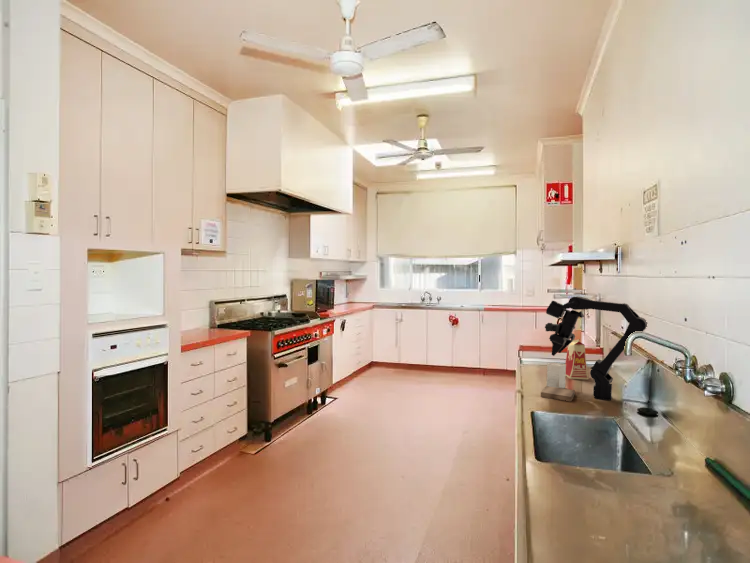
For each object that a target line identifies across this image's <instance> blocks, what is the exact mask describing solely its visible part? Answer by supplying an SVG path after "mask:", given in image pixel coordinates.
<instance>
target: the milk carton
mask: <svg viewBox="0 0 750 563" xmlns="http://www.w3.org/2000/svg"><path fill="white" fill-rule="evenodd" d="M565 364H566V377H567V378H568V379H569V380H570V379H571V380H573V379H574V380H589V375H588V374H589V373H588V365H587V356H586V345H585V344H584V343H582V342H580V338H578V339H574V340H573V341H572V342H571V343H570V344H569V345H568V346H567V350H566V357H565Z"/></svg>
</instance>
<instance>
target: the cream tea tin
mask: <svg viewBox="0 0 750 563" xmlns="http://www.w3.org/2000/svg"><path fill="white" fill-rule="evenodd" d="M566 377H567V376H566V364H564V363H560V362H555V361H554V362H549V363H547V365H546V386H549V387H556V388H563V389H566Z"/></svg>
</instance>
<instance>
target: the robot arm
mask: <svg viewBox="0 0 750 563" xmlns="http://www.w3.org/2000/svg"><path fill="white" fill-rule="evenodd" d="M569 309H571V310H569ZM578 310H579V311H578ZM580 310H581V311H580ZM582 310H598V311H604V312H605V311H606V312H612V313H614V312H615V313H620V314H621V315H622V316H623V318H624V319H625V321H626V322H627V323H628V325H627V327H626V330H625V332H624V333H623V336H621V338H620V339H619V340H618V341H617V343H616V344H615V345H614V346H613V348H612V349H610V351H609V352H608V353H607V355H605V357H604V358H603V359H602V360H601V359H600V358H599V359H597V360H595V362H594V364H593V366H591V367H590V369H591V370H590V371H589V374H590V377H591V379H592V380H594V385H593V392H592V395H593V399H597V400H598V399H599V400H605V401H612V399H613V396H612V394H613V392H612V390H613V383H612V382H613V380H614V377H612V375H611V374H610V370H611V368H612V366H613V364H614V363H615V361H616V360H617V359H618V358H619V357H620V356H621V355H622V353H623V352H624V351H625V350H624V346H625V341H626V339H627V338H628V336H629V335H630V334H631V333H633V332H635V331H642V332H644V331H645V330H646V329H647V328H648V326H647V324H648V321H647V319H646V318H644V317H640V315H639V314H638V313H637V312H635V310H633V309H632V307H630V305H629V304H628V303H625V302H623V303H619V302H610V301H601V300H592V299H589V298H587V297H583V296H579V295H578V296H571V298H569V300H568V302H566V303H564V304H562V303H559V302H558V301H555V300H551V302H550V303H549V305H548V306H547V307H546V311H545V314H546V315H549V316H551V317H553V318H556V319H560V318H562V319H561V322H559V323H552V322H548V323H546V324H545V326H544V329H545V332H553V334H550V336H549V338H548V339H549V341H550V342H551V344H552V346H551V347H552V348H551V355H552V356H553V357H555V356H556V354H557V353H559V354H561V353H562V352H563V351H564V350H565V349H566V348H568V346H569V344H570V343H572V342H573V340H575V339H576V335H575V333H573V332H574V330H575V329H576V323H577V321H578V319H579V318H581V319H582V318H584V317H585V315H584V312H583V311H582ZM646 321H647V322H646ZM646 327H647V328H646Z"/></svg>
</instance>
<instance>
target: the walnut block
mask: <svg viewBox="0 0 750 563" xmlns="http://www.w3.org/2000/svg"><path fill="white" fill-rule="evenodd" d="M575 392H576V390H575V389H569V388H564V389H563V388H556V387H549V386H547V385H545V387H543V389H542V390H541V391H540V397H542V398H546V399H547V398H548V399H552V398H554V399H553V400H558V399H560V400H559V401H565V400H566V401H567V402H572V400H573V399H574V397H575V395H576V394H575Z"/></svg>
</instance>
